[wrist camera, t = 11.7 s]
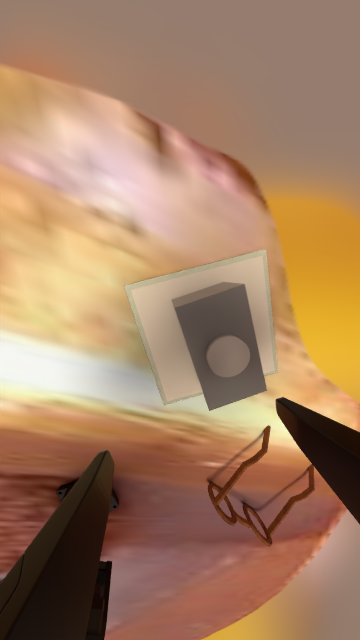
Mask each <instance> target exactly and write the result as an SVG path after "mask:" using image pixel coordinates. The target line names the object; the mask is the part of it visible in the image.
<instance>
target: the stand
mask: <svg viewBox="0 0 360 640" xmlns="http://www.w3.org/2000/svg"><path fill="white" fill-rule="evenodd" d="M222 282H230V283H240V284H245V288H246V292H247V297H248V302H249V307H250V312H251V316H252V321H253V326H254V331H255V336H256V340H257V345H258V350H259V355H260V360H261V364H262V369H263V374H264V376H267V375H270V374H274V373H277V372H278V367H277V357H276V347H275V336H274V326H273V316H272V306H271V296H270V286H269V276H268V266H267V256H266V249H264V250H260V251H256V252H252V253H248V254H244V255H240V256H237V257H233V258H229V259H225V260H221V261H217V262H213V263H210V264H206V265H202V266H198V267H194V268H190V269H186V270H183V271H179V272H175V273H171V274H167V275H163V276H159V277H156V278H152V279H148V280H144V281H140V282H136V283H132V284H129V285H125V286H124V288H125V291H126V294H127V297H128V300H129V303H130V306H131V309H132V312H133V315H134V317H135V320H136V323H137V326H138V329H139V332H140V335H141V338H142V341H143V344H144V347H145V350H146V353H147V356H148V359H149V362H150V365H151V368H152V371H153V374H154V377H155V380H156V383H157V386H158V389H159V392H160V395H161V398H162V401H163V404H164V405H166V404H170V403H173V402H177V401H180V400H184V399H187V398H190V397H194V396H197V395H201V394H203V391H202V389H201V386H200V383H199V380H198V377H197V374H196V371H195V368H194V365H193V362H192V359H191V356H190V353H189V351H188V348H187V345H186V342H185V339H184V336H183V333H182V330H181V327H180V324H179V321H178V318H177V315H176V312H175V309H174V306H173V303H172V299H175V298H178V297H181V296H184V295H187V294H190V293H193V292H195V291H198V290H201V289H204V288H207V287H210V286H213V285H216V284H219V283H222Z"/></svg>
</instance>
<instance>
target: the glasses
mask: <svg viewBox="0 0 360 640" xmlns="http://www.w3.org/2000/svg"><path fill="white" fill-rule="evenodd" d="M270 428H271V427H270V426H267V427H266V428H265V430H264V436H263V443H262V449H261V450H260V451H259V452H258V453H257V454H255V455H254V456H253V457H252V458H250V459H248V460H246V461H245V462H243V463H242V464H241V466H240V467H239V468H238V469H237V471H236V472H235V473H234V475H233V476H232V477H231V478H230V480H229V481H228V482H227V483H226V485H225V486H224V487H223V489H222V490H221V488H220V487H218V486H217V485H215V484H214V483H212V482H211V483H210V484H209V485H208V492H209V496H210V498H211V501H212V503H213V505H214V507H215V509H216V510H217V512H218V513H219V515H220V516H221V517H222V519H223V520H224V521H225V522H227V523H228V524H229V525H232V526H233V525H235V523H236V522H237V521H238V522H240V523H241V524H243V525H244V526H246V527H248V528H250V527H251V528H252V530H253V531H254V533H255V534H256V535H257V536H258V538H259V539H260V540H261V541H262V542H263V543H264V544H265V545H267V546H271V544H272V539H271V535H272V534H273V532H274V531H275V530H276V528H277V527H278V526H279V524H280V523H281V522H282V520H283V519H284V518H285V516H286V515H287V513H288V512H289V511H290V509H291V508H292V507H293V505H294V504H295V503H296V502H298V501H300V500H303V499H305V498H306V497H308V496H309V495H310V494H311V493H312V492H313V491H314V490H315V488H314V466H313V464H312V465H310V466H309V488H307V489H306V490H305V491H303V492H302V493H301V494H299V495H296V496H293V497H291V498H290V499H289V501H288V502H287V503H286V505H285V506H284V507H283V509H282V510H281V511H280V513H279V514H278V516H277V517H276V518H275V520H274V521H273V522H272V524H271V525H270V526H269V528H268V529H267V528H266V527H265V525H264V523H263V522H262V520H261V519H260V517H259V516H258V515H257V513H256V512H255V511H254V510H253V509H252V508H251V507H250V506H248V505H247V504H244V505H243V511H244V514H245V516H246V518H247V520H248V521H247V520H246V519H244V518H242V517H241V516H239V515H238V514H237V513H236V512H235V511H234V509H233V507H232V505H231V503H230V501H229V500H228V498H227V496H226V494H227V493H228V492H229V490H230V489H231V488H232V486H233V485H234V484H235V483H236V481H237V480H238V479H239V477H240V476H241V475H242V474H243V472H244V471H245V470H246V468H247V467H249V466H251V465H252V464H254V463H256V462H257V461H258V460H259V459H260V458H261V457H262V456H263V455H264V454H265V453H266V452H267V449H268V442H269V435H270ZM212 488H213V489H215V490H217V491H218V492H219V494H218V495H217V496H216V497H214V494H213V491H212ZM223 498H224V500H225V502H226V503H227V505H228V507H229V510H230V512H231V515H232V518H230V517H228V516H227V515H226V514H225V513H224V512H223V511H222V510H221V508H220V507H219V505H218V504H219V503H220V502H221V500H222V499H223ZM247 510H249V511H250V512H251V513H252V514H253V515H254V516H255V517H256V519H257V520H258V522H259V523H260V525H261V526H262V528H263V530H264V532H265V534H266V537H267V539H266V538H265V537H263V536H262V535H261V534H260V532H259V531H258V530H257V528H256V527H255V526H254V524H253V522H252V520H251V518H250V516H249V514H248V512H247Z"/></svg>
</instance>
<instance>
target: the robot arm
mask: <svg viewBox="0 0 360 640" xmlns="http://www.w3.org/2000/svg"><path fill="white" fill-rule="evenodd" d="M276 410H277V414H278V416H279V418H280V419H281V421H282V422H283V424H284V425H285V427H286V428H287V430H288V431H289V433H290V434H291V436H292V437H293V439H294V440H295V442H296V443H297V445H298V446H299V448H300V449H301V450H302V452H303V453H304V454H305V455H306V457H307V458H308V459H309V461H310V462H311V463H312V464H313V466H314V467H315V468H316V469H317V471H318V472H319V473H320V475H321V476H322V477H323V478H324V480H325V481H326V482H327V483H328V485H329V486H330V487H331V489H332V490H333V491H334V492H335V494H336V495H337V496H338V497H339V499H340V500H341V501H342V502H343V504H344V505H345V506H346V508H347V509H348V510H349V511H350V513H351V514H352V515H353V516H354V518H355V519H356V520H357V521H358V523H359V524H360V432H358V431H356V430H354V429H351V428H349V427H347V426H345V425H343V424H340V423H338V422H336V421H334V420H332V419H330V418H327V417H325V416H323V415H321V414H319V413H317V412H314V411H312V410H310V409H308V408H306V407H304V406H301V405H299V404H297V403H295V402H293V401H291V400H288V399H286V398H284V397H282V398H278V399H276ZM113 473H114V461H113V458H112V456H111V454H110V452H109V450H104V451H101V452H99V453H98V454H97V456H96V457H95V458H94V460H93V461H92V462H91V464H90V465H89V466H88V468H87V469H86V470H85V472H84V473H83V474H82V476H81V477H80V478H79V480H78V481H77V482H75V483H72V484H69V485H65V486H62V487H59V488H58V490H57V492H56V494H57V496H58V497H59V499H60V500H61V503H60V505H59V506H58V508H57V509H56V510H55V512H54V513H53V514H52V516H51V517H50V518H49V520H48V521H47V522H46V524H45V525H44V526H43V528H42V529H41V530H40V532H39V533H38V534H37V536H36V537H35V538H34V540H33V541H32V542H31V544H30V545H29V546H28V548H27V549H26V550H25V553H24V554H22V556H21V557H20V558H19V560H18V561H17V562H16V564H15V565H14V566H13V568H12V569H11V570H10V572H9V573H8V574H7V575H6V577H5V578H4V579H3V581H2V582H1V583H0V640H104V637H105V631H106V622H107V612H108V601H109V590H110V579H111V569H112V561H107V562H103V561H100V556H101V551H102V546H103V540H104V535H105V530H106V524H107V519H108V514H109V511H111V510H114V509H117V508H118V506H119V501H118V499H117V498H116V496H115V494H114V492H113V490H112V482H113Z"/></svg>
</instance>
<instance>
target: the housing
mask: <svg viewBox="0 0 360 640" xmlns="http://www.w3.org/2000/svg"><path fill="white" fill-rule="evenodd" d="M172 303H173V306H174V309H175V312H176V315H177V318H178V321H179V324H180V327H181V330H182V333H183V336H184V339H185V342H186V345H187V348H188V351H189V353H190V356H191V359H192V362H193V365H194V368H195V371H196V374H197V377H198V380H199V383H200V386H201V389H202V391H203V394H204V397H205V400H206V403H207V405H208V408H209V411H210V410H213V409H216V408H219V407H222V406H224V405H227V404H230V403H233V402H236V401H239V400H241V399H244V398H247V397H250V396H253V395H255V394H258V393H261V392H264V391H267V389H266V384H265V379H264V374H263V369H262V364H261V360H260V355H259V350H258V345H257V340H256V336H255V331H254V326H253V321H252V316H251V312H250V307H249V302H248V297H247V292H246V288H245V284H240V283H230V282H222V283H219V284H216V285H213V286H210V287H207V288H204V289H201V290H198V291H195V292H193V293H190V294H187V295H184V296H181V297H178V298H175V299H172Z"/></svg>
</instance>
